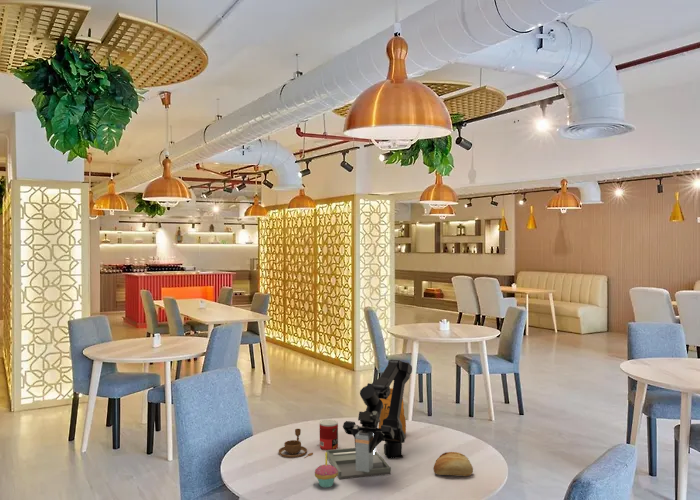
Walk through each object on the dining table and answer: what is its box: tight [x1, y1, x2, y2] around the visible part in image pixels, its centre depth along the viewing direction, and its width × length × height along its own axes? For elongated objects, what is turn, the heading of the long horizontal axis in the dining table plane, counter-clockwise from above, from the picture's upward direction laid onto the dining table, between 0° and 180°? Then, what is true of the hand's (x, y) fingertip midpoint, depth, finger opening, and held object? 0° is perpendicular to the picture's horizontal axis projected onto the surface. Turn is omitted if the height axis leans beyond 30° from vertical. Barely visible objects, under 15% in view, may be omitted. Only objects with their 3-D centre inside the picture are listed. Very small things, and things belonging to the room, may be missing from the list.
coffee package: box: [378, 387, 407, 435], centre depth 270 cm, size 10×12×22 cm
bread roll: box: [432, 451, 474, 477], centre depth 226 cm, size 10×15×8 cm, turn 92°
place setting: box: [278, 428, 314, 459], centre depth 253 cm, size 18×20×6 cm
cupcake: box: [314, 452, 338, 488], centre depth 216 cm, size 9×8×12 cm
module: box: [354, 430, 374, 472], centre depth 217 cm, size 5×5×14 cm
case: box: [325, 447, 392, 480], centre depth 236 cm, size 20×26×4 cm
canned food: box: [319, 419, 339, 451], centre depth 255 cm, size 8×8×11 cm
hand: (363, 451), depth 215 cm, fingers closed on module, 5 cm apart
